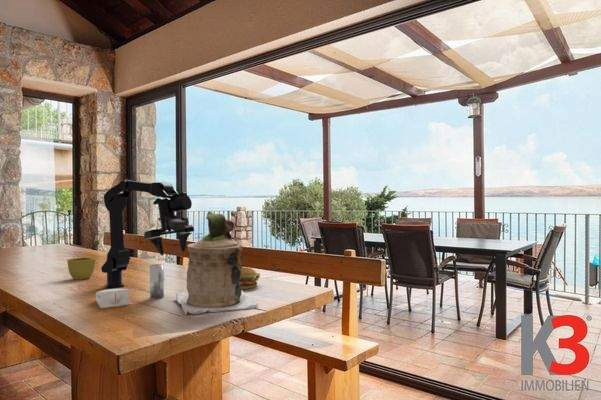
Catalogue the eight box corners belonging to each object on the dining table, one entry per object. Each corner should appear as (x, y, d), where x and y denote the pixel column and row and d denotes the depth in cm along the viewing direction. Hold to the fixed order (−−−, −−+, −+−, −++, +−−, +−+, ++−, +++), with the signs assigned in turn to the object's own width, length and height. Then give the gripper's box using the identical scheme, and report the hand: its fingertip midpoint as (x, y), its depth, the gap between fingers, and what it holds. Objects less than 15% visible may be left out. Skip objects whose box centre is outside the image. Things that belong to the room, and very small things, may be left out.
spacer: (148, 296, 154) (148, 264, 154) (161, 295, 157) (161, 263, 157) (151, 299, 150) (151, 266, 150) (165, 297, 153) (165, 265, 153)
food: (251, 291, 163) (251, 271, 163) (220, 289, 168) (220, 269, 168) (266, 284, 176) (266, 266, 176) (237, 282, 181) (236, 264, 181)
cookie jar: (184, 316, 128) (184, 213, 128) (174, 299, 151) (174, 211, 151) (260, 308, 138) (260, 212, 138) (240, 293, 161) (240, 210, 161)
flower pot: (96, 278, 191) (96, 258, 191) (77, 281, 184) (77, 260, 184) (85, 276, 196) (85, 257, 196) (66, 279, 188) (66, 259, 188)
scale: (93, 300, 148) (93, 286, 148) (125, 297, 154) (125, 283, 154) (98, 308, 138) (98, 293, 138) (131, 304, 143) (131, 289, 143)
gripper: (155, 213, 151) (161, 255, 150) (198, 208, 165) (205, 247, 164) (140, 217, 158) (146, 258, 157) (183, 213, 172) (189, 250, 171)
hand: (173, 253), depth 162 cm, fingers open, 9 cm apart
